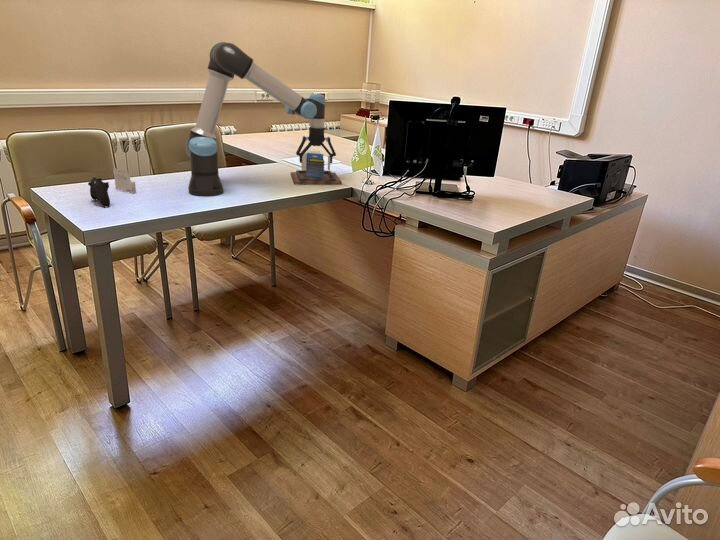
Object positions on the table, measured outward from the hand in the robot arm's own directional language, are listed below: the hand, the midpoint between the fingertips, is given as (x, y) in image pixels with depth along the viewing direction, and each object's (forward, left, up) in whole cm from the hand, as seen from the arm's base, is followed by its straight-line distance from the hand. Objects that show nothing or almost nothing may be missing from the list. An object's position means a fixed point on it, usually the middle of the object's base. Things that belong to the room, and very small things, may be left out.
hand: (315, 169), depth 261 cm
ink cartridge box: (-87, -24, -6) cm, 90 cm away
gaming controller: (-93, -43, -6) cm, 103 cm away
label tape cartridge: (0, 0, -4) cm, 4 cm away
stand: (0, 0, -5) cm, 5 cm away
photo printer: (0, +18, -6) cm, 19 cm away
